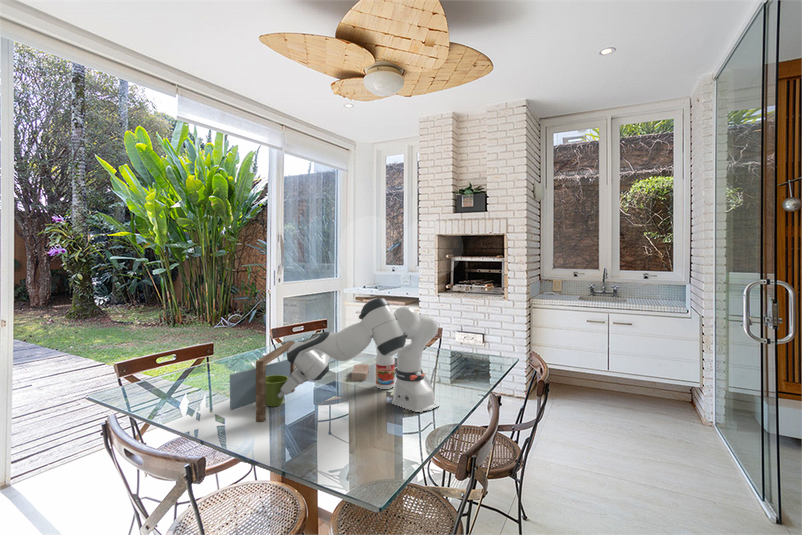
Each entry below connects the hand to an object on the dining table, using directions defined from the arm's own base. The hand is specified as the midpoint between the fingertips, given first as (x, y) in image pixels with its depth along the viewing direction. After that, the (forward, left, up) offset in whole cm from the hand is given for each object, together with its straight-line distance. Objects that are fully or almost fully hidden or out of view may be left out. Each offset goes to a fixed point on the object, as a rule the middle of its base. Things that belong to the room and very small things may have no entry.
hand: (282, 392), depth 171 cm
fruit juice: (-9, -49, -5) cm, 50 cm away
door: (+7, +7, -4) cm, 11 cm away
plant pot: (+1, +4, -5) cm, 6 cm away
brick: (+14, -48, -5) cm, 50 cm away
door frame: (-1, +3, -5) cm, 5 cm away
